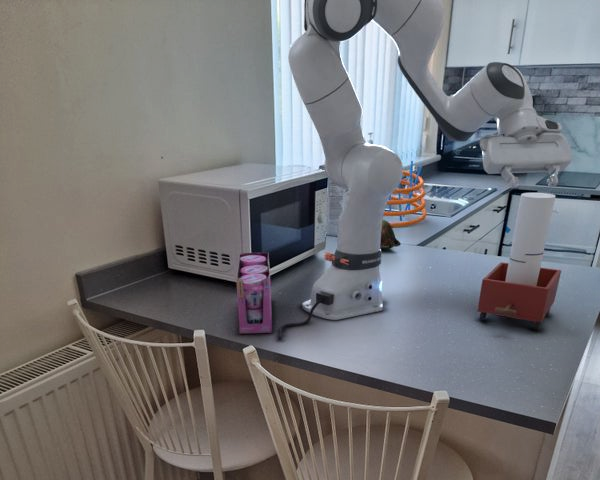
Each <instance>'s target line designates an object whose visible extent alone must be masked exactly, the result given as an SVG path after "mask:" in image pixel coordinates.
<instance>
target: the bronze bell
mask: <svg viewBox="0 0 600 480" xmlns="http://www.w3.org/2000/svg"><path fill="white" fill-rule="evenodd" d="M390 223H391V222H389V221H388V220H387V219H384V218H383V219H382V229H381V242H380V249H381V250H385V251H387V250H389V249H393V248H398V247H400V246H401V244H402V243H401V241H399V240H398V239H397V238H396V234H395V231H394V229H393V227H391V225H390Z"/></svg>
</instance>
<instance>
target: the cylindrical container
mask: <svg viewBox="0 0 600 480" xmlns="http://www.w3.org/2000/svg"><path fill="white" fill-rule="evenodd" d="M555 201H556V195H555V194H553V193H547V192H523V193H521V194H520V200H519V205H518V209H517V214H516V221H515V226H514V231H513V237H512V242H511V248H510V254H509V259H508V263H509V264H508V269H507V275H506V280H505V282H511V283H517V284H524V285H531V286H536V285H537V281H538V276H539V271H540V268H542V267H541V266H542V261H543V257H544V251H545V247H546V243H547V238H548V233H549V229H550V225H551V224H550V223H551V219H552V215H553V210H554V205H555Z"/></svg>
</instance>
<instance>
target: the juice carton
mask: <svg viewBox="0 0 600 480" xmlns="http://www.w3.org/2000/svg"><path fill="white" fill-rule="evenodd" d="M319 169H322V170H325V163H324V164H321V165H319V166H318V170H319ZM347 198H348V190H346V189H343V188H340V187H338V186H337V185H336V184H334V183H333V182H332V181H331V180H330V179H329V178H328V198H327V225H326V232H327V233H326V235H325V236H332V237H338V218H339V216H340V215H341V214H342V213H343V211H344V209H345V206H346V202H347Z"/></svg>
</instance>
